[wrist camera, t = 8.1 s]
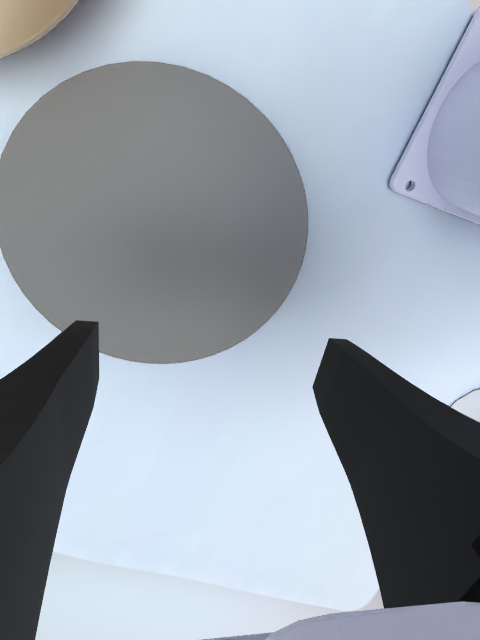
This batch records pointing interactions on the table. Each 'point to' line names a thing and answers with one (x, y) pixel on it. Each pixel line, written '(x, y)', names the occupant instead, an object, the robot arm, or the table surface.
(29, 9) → the lid
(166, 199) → the mat
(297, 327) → the table surface
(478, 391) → the white cup
